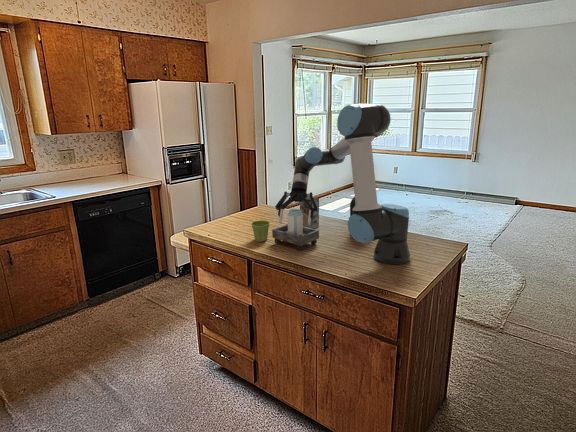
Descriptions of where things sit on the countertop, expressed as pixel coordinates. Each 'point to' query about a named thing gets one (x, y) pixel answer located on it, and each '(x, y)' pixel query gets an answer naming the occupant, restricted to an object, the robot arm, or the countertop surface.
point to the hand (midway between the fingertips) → (294, 223)
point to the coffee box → (305, 211)
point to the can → (295, 222)
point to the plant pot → (260, 230)
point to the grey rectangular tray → (295, 236)
